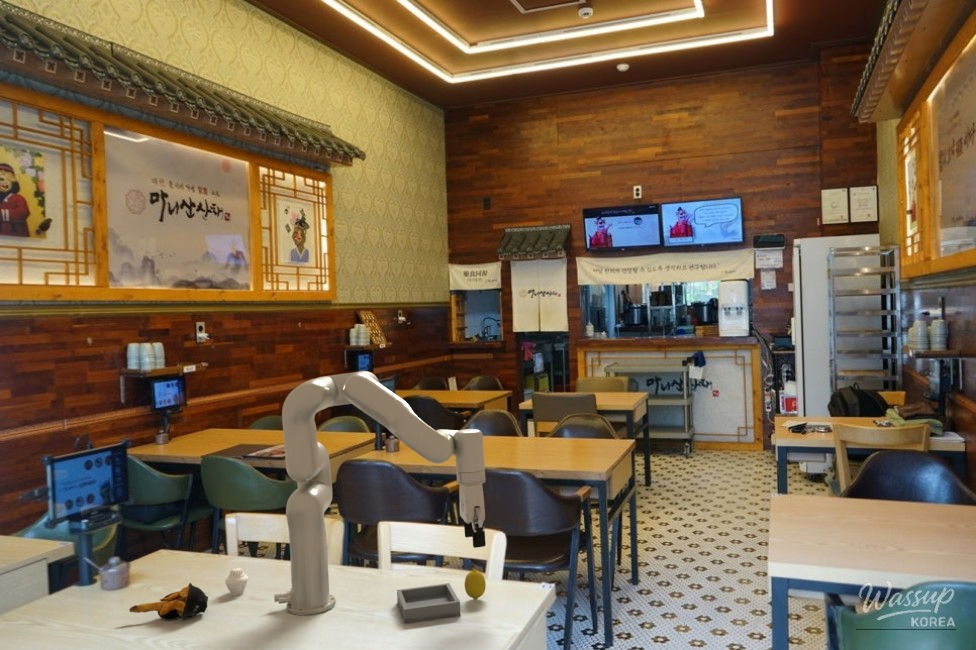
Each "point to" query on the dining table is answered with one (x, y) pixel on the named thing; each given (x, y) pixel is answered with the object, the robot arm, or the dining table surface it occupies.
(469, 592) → the lemon
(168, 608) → the fried shrimp in bowl
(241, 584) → the white vase
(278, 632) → the dining table surface
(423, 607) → the tray
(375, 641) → the dining table surface
